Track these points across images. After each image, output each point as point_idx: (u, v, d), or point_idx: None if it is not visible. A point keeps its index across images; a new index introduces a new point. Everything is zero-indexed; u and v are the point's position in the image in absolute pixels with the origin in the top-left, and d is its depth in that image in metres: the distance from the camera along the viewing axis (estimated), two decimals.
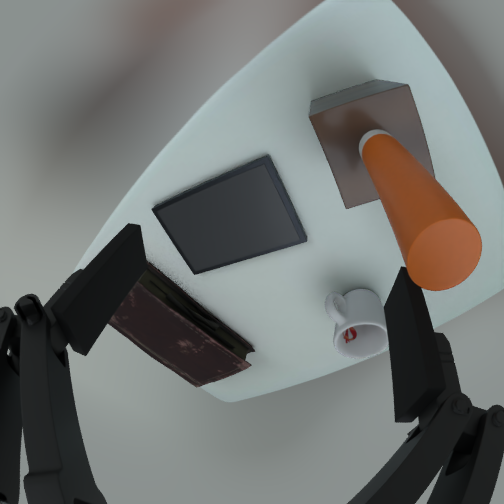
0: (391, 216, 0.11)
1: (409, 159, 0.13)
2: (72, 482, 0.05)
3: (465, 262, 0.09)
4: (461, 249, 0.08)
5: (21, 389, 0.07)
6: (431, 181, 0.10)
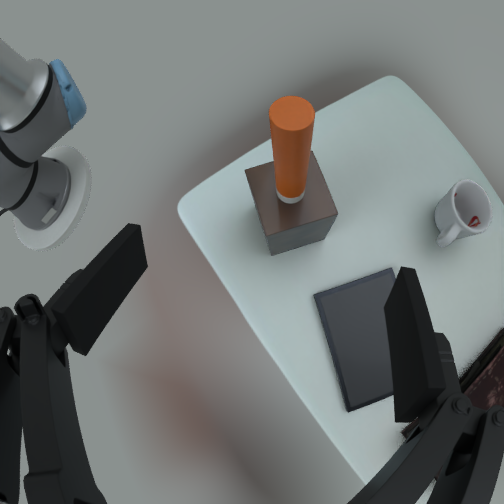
0: (291, 152, 0.21)
1: None
2: (72, 482, 0.05)
3: (294, 102, 0.18)
4: (286, 106, 0.18)
5: (21, 389, 0.07)
6: None
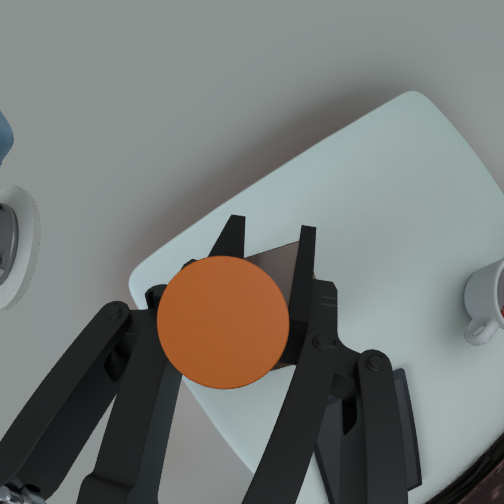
0: None
1: None
2: (138, 498, 0.05)
3: (231, 284, 0.07)
4: (205, 299, 0.07)
5: (122, 385, 0.08)
6: None
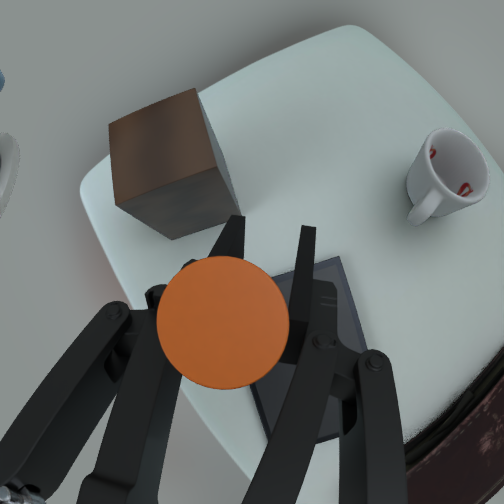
0: None
1: None
2: (138, 498, 0.05)
3: (230, 284, 0.07)
4: (205, 299, 0.07)
5: (122, 385, 0.08)
6: None
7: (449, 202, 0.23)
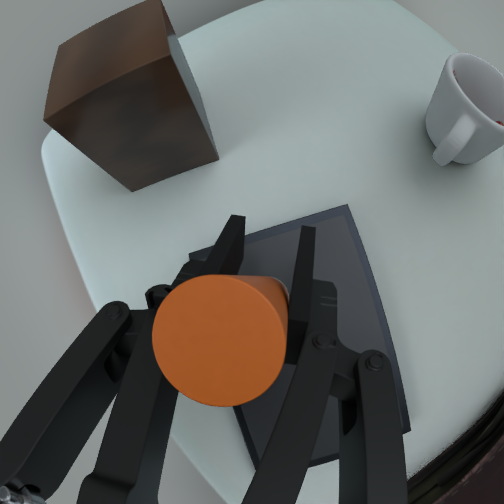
0: None
1: None
2: (138, 498, 0.05)
3: (224, 305, 0.06)
4: (199, 319, 0.06)
5: (122, 385, 0.08)
6: None
7: (485, 132, 0.15)
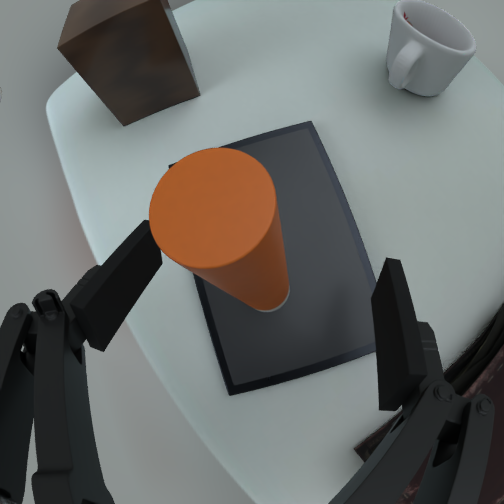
0: (230, 288, 0.09)
1: None
2: (82, 483, 0.05)
3: (220, 168, 0.07)
4: (196, 182, 0.07)
5: (35, 386, 0.07)
6: None
7: (433, 55, 0.16)
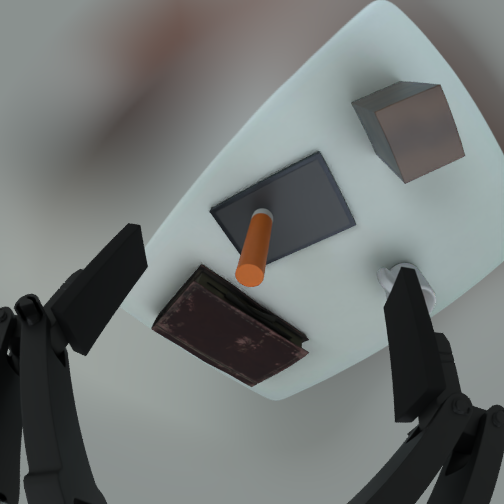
0: None
1: (254, 234, 0.36)
2: (73, 482, 0.05)
3: (257, 276, 0.32)
4: (253, 272, 0.31)
5: (21, 389, 0.07)
6: (252, 247, 0.34)
7: None
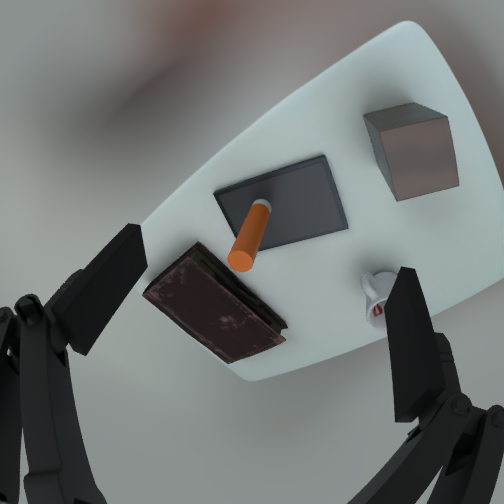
0: None
1: (251, 223, 0.39)
2: (73, 482, 0.05)
3: (247, 263, 0.35)
4: (244, 259, 0.34)
5: (21, 389, 0.07)
6: (247, 235, 0.36)
7: (369, 302, 0.45)
